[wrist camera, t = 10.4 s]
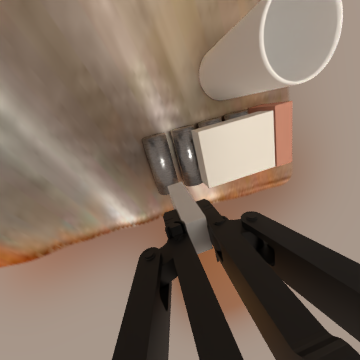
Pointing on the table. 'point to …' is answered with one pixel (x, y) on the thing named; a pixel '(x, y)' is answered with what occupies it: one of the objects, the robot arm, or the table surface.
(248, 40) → the cup
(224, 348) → the robot arm
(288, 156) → the block
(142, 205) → the table surface
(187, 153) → the rollers
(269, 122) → the board
